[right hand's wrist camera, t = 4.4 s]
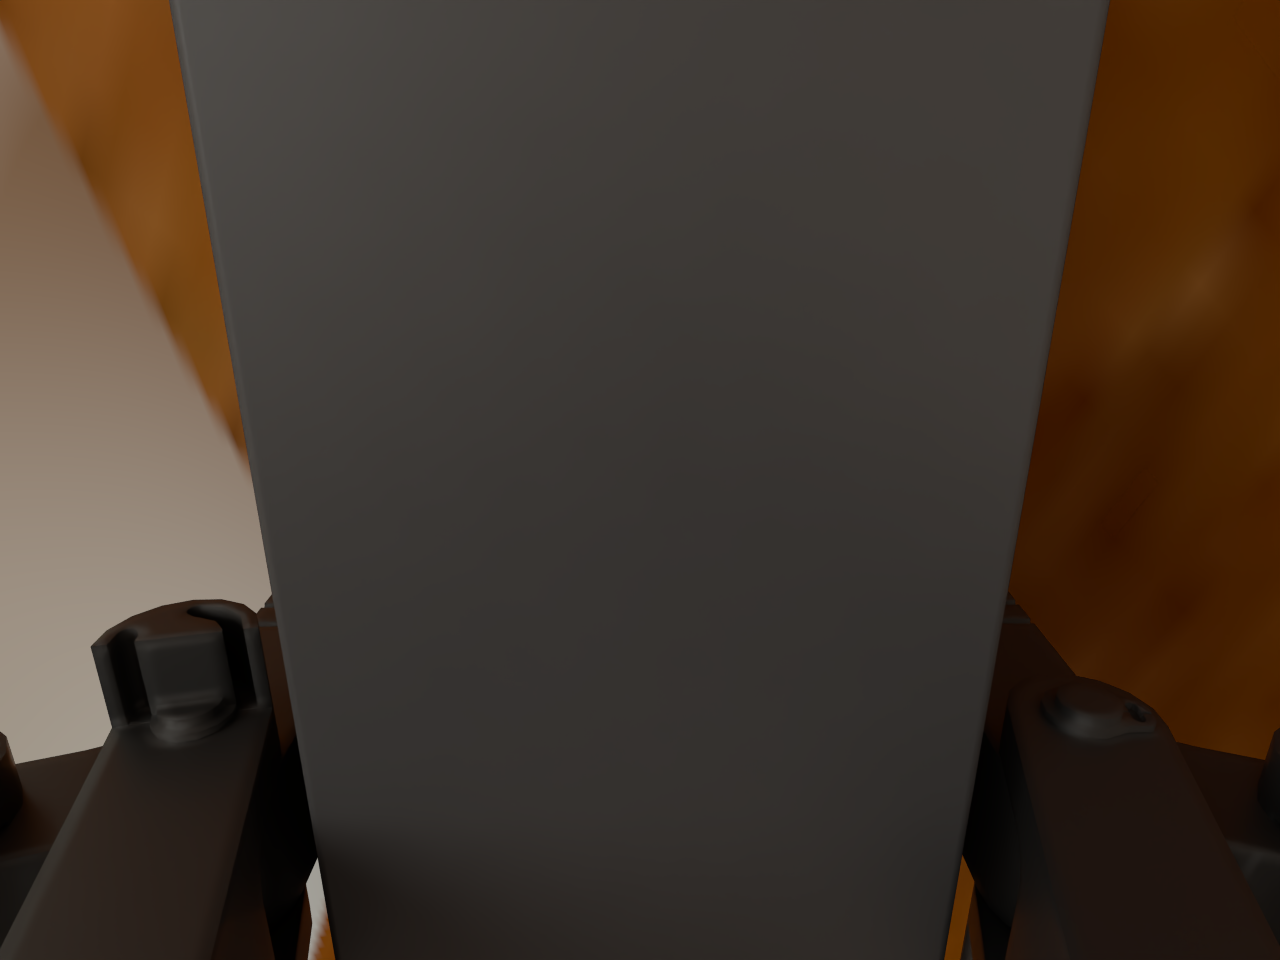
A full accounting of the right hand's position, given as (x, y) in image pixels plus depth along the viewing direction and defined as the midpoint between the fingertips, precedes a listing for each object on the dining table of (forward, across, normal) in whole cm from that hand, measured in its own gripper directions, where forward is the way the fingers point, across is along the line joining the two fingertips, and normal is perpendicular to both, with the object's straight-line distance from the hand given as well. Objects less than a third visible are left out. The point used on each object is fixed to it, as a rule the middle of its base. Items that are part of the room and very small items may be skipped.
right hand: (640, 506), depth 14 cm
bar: (+1, 0, -7) cm, 7 cm away
